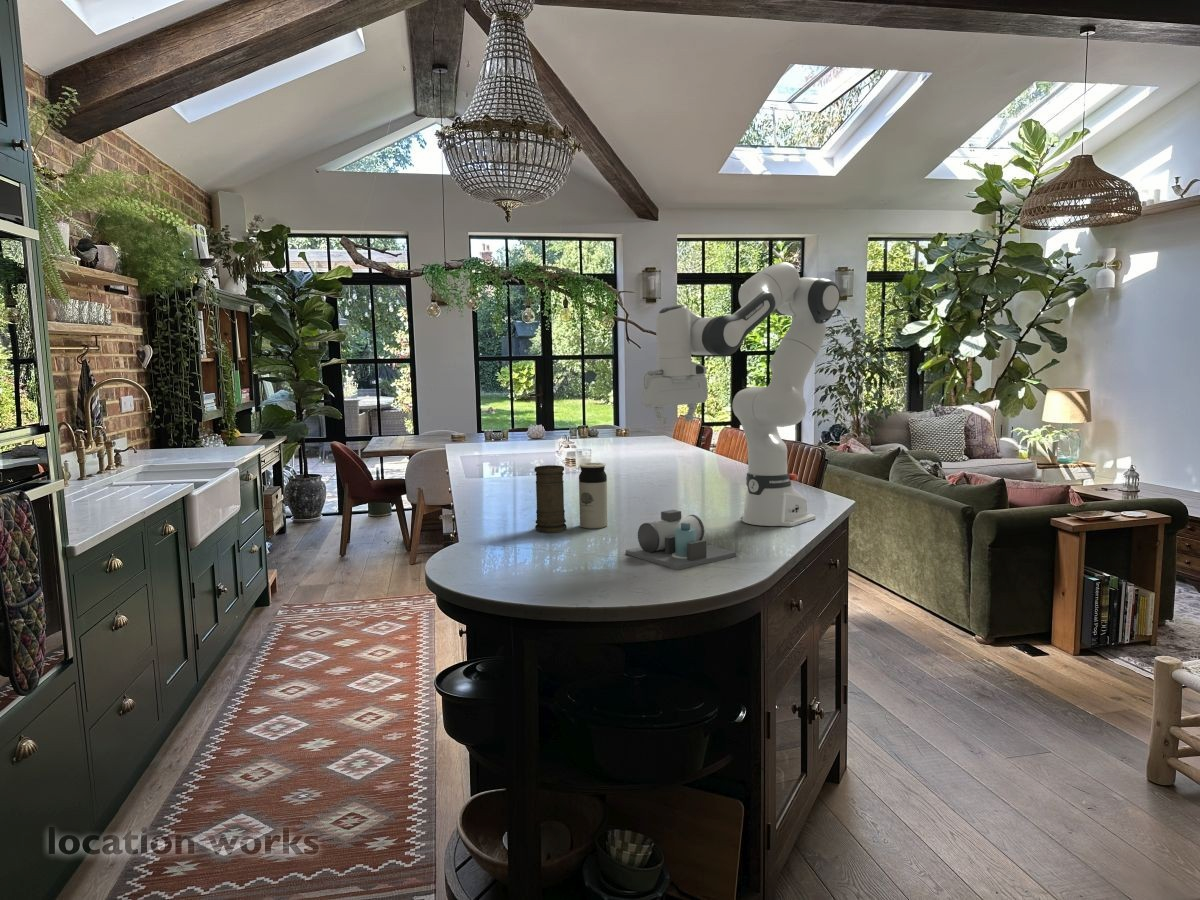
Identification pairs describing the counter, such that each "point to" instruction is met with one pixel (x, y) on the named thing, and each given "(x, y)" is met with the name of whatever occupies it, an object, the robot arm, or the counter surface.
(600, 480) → the travel mug
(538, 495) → the container
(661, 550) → the motor unit
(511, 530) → the counter surface
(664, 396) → the robot arm
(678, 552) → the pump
